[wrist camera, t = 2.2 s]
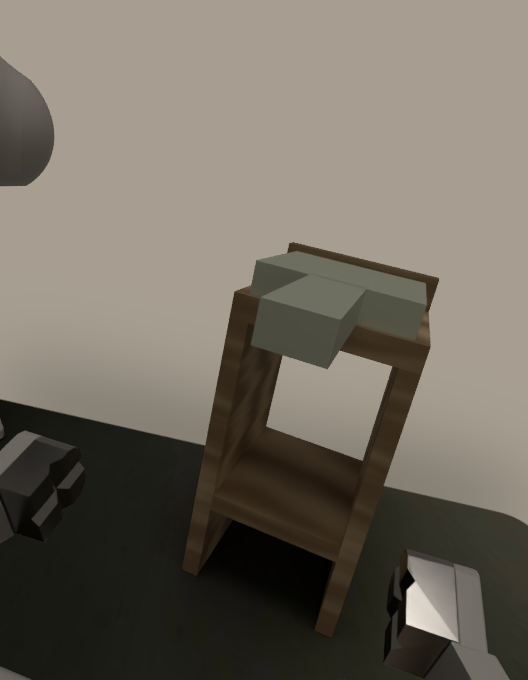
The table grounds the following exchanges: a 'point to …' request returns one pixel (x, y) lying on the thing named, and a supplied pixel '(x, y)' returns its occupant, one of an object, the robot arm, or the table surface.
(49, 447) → the robot arm
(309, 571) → the table surface
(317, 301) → the grey paddle board
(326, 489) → the rack
